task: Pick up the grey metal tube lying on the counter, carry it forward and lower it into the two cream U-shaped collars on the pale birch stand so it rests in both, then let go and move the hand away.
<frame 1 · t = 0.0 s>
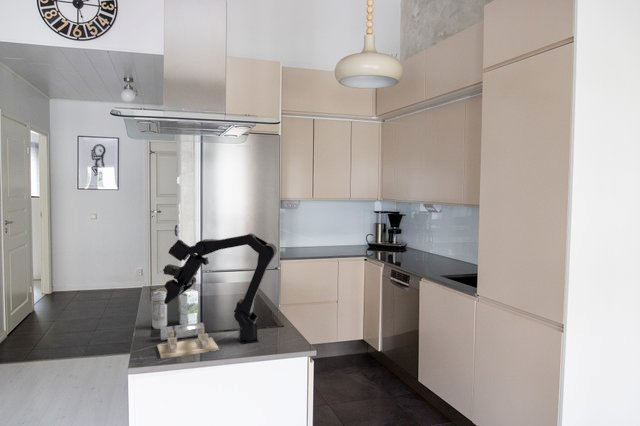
hand: (170, 300, 178), 15 cm above the counter, tool tilted 35°, fingers open, 9 cm apart
collar stand: (187, 348, 167), on the counter
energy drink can: (159, 327, 191), on the counter
metal tube: (182, 337, 179), on the counter
syrup box: (188, 324, 196), on the counter
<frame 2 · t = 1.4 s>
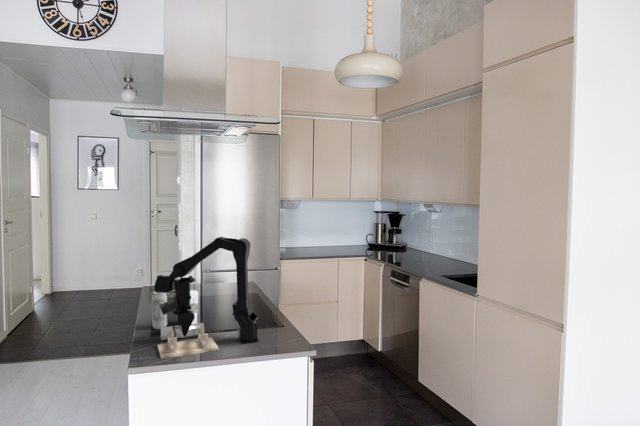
hand: (182, 332, 178), 2 cm above the counter, tool pointing down, fingers open, 9 cm apart
nothing on the counter moved.
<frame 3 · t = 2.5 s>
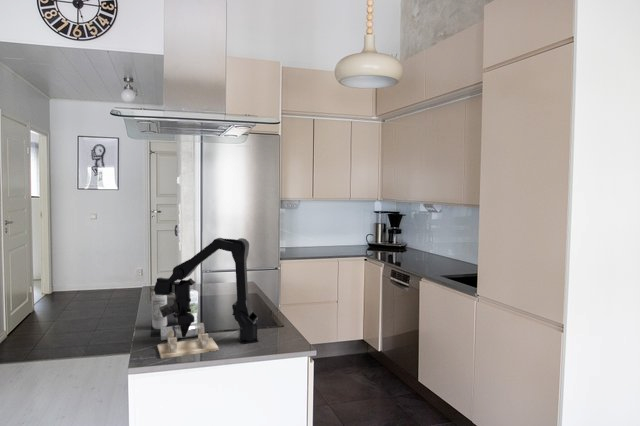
hand: (182, 334, 178), 1 cm above the counter, tool pointing down, fingers closed on metal tube, 5 cm apart
metal tube: (182, 337, 179), on the counter, touching gripper
everything else where it was.
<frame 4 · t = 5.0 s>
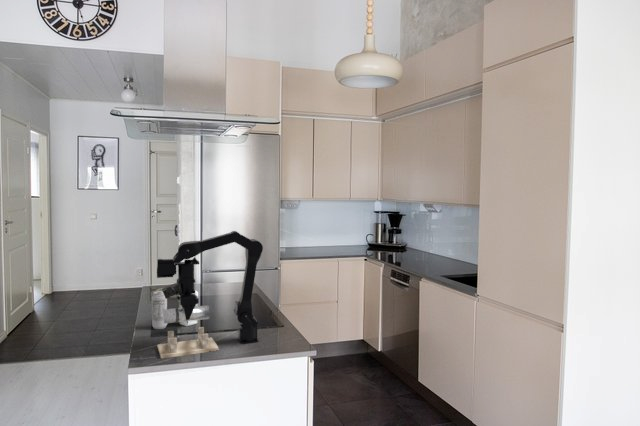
hand: (186, 317, 169), 11 cm above the counter, tool pointing down, fingers closed on metal tube, 5 cm apart
metal tube: (186, 320, 169), point 10 cm above the counter, touching gripper
everything else where it was.
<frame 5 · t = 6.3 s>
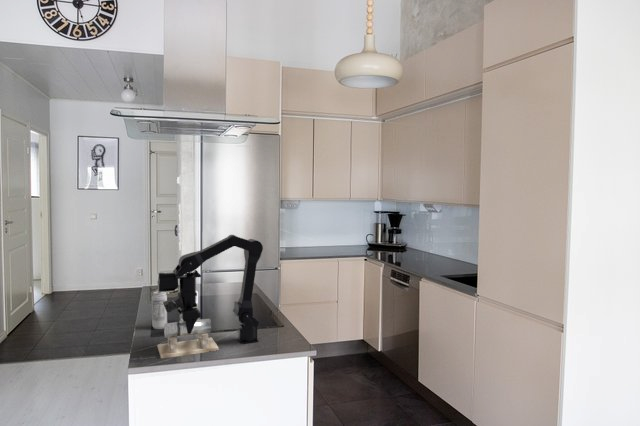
hand: (188, 331, 166), 7 cm above the counter, tool pointing down, fingers closed on metal tube, 5 cm apart
metal tube: (187, 334, 166), point 5 cm above the counter, touching gripper
everything else where it was.
when the fingers open (5 cm above the counter, at t = 7.5 s): metal tube stays where it is, resting on collar stand.
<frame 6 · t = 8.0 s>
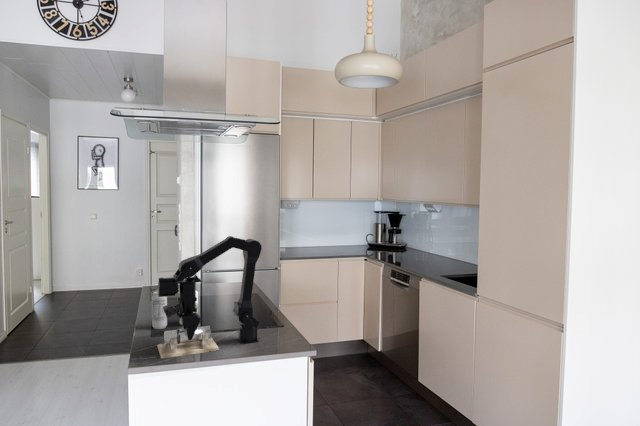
hand: (187, 336, 167), 5 cm above the counter, tool pointing down, fingers open, 9 cm apart
metal tube: (187, 342, 167), point 3 cm above the counter, touching collar stand
everything else where it was.
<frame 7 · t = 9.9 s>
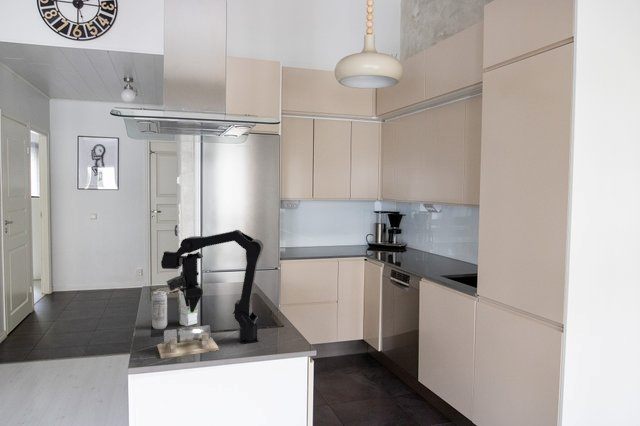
hand: (189, 309, 176), 12 cm above the counter, tool pointing down, fingers open, 9 cm apart
metal tube: (187, 341, 167), point 3 cm above the counter, tilted 18°, touching collar stand
everything else where it was.
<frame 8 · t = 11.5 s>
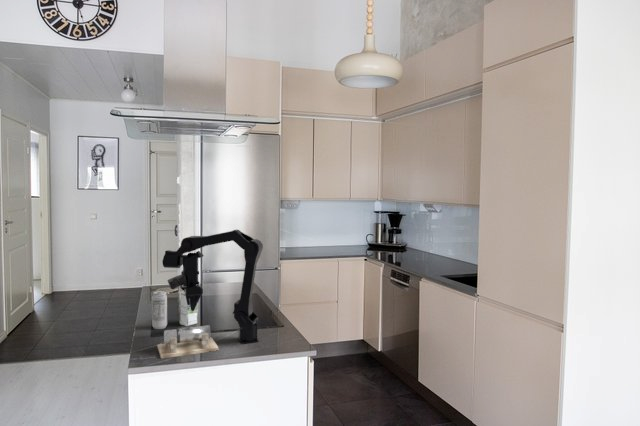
hand: (190, 307, 178), 12 cm above the counter, tool pointing down, fingers open, 9 cm apart
nothing on the counter moved.
at the end: metal tube 0.0 cm off-centre on the collar stand, point 2.6 cm above the collar stand's base; metal tube touching collar stand; the gripper is holding nothing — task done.
